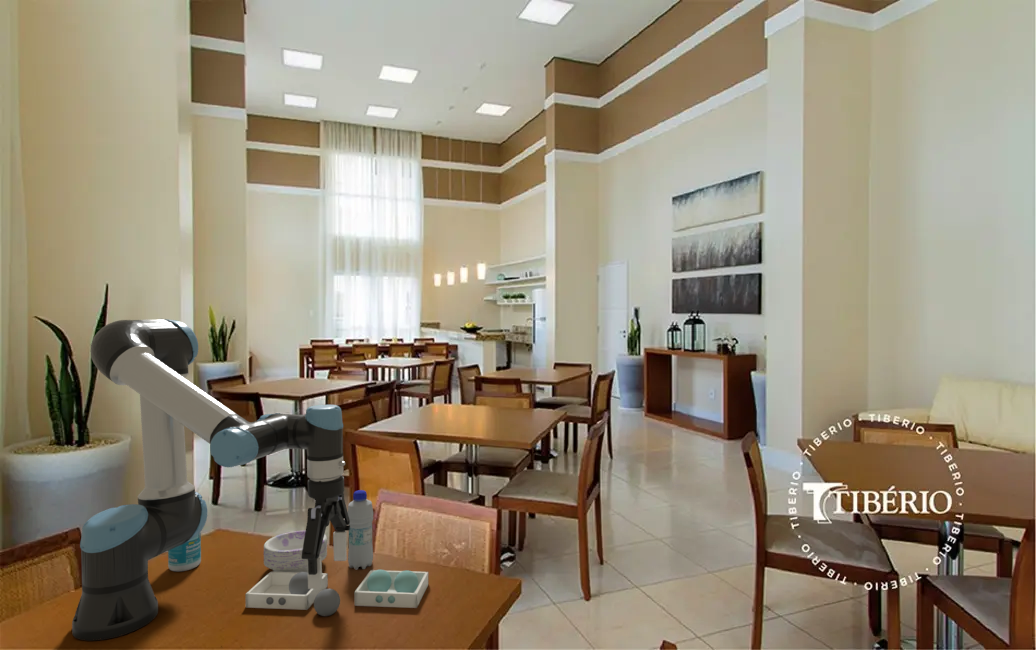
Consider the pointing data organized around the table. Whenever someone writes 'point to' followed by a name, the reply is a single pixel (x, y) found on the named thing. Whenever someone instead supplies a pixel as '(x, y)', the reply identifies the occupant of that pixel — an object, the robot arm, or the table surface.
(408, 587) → the teal ball
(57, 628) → the table surface
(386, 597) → the dish right
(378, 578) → the teal ball
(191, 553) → the pill bottle
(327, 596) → the charcoal ball
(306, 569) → the paper bowls
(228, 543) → the table surface
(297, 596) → the dish left
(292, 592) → the charcoal ball
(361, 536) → the bottle
